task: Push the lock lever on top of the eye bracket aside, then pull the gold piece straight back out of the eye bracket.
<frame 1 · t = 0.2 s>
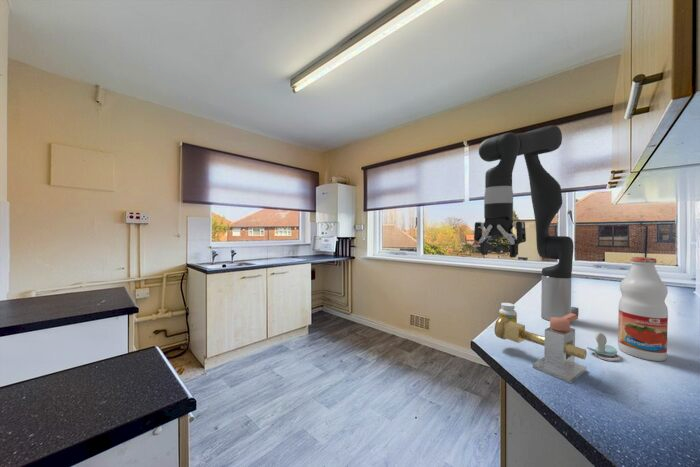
hand: (498, 256, 78), 28 cm above the countertop, fingers open, 8 cm apart
supplement bottle: (507, 331, 91), on the countertop
gold piece: (537, 339, 71), point 6 cm above the countertop, slide at 0.0 cm
lock lever: (566, 318, 68), point 13 cm above the countertop, hinge at 0.0°
fruit juice: (641, 354, 74), on the countertop
eye bracket: (559, 369, 66), on the countertop
pacifier: (605, 357, 73), on the countertop
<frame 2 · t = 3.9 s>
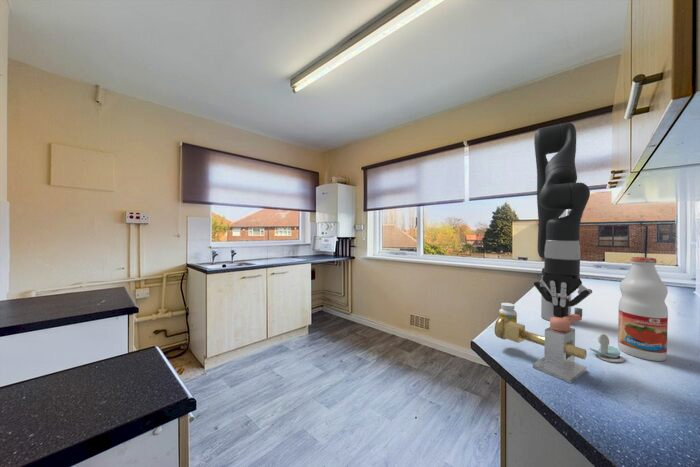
hand: (560, 318, 70), 12 cm above the countertop, fingers closed
lock lever: (568, 318, 68), point 13 cm above the countertop, hinge at -5.0°, touching gripper
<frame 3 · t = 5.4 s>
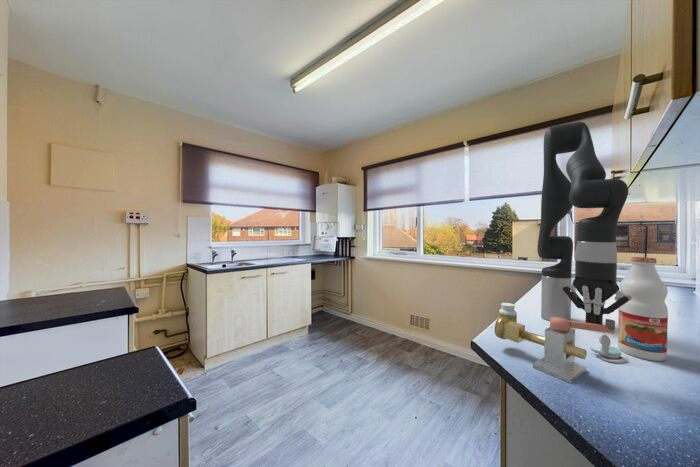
hand: (593, 327, 65), 12 cm above the countertop, fingers closed
lock lever: (581, 324, 64), point 13 cm above the countertop, hinge at -60.2°, touching gripper
everything else where it was.
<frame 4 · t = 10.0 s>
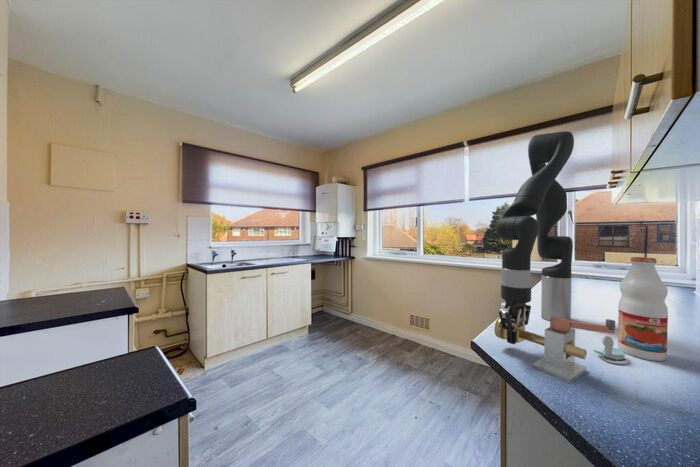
hand: (515, 341, 76), 3 cm above the countertop, fingers closed on gold piece, 3 cm apart
gold piece: (537, 339, 71), point 6 cm above the countertop, slide at 0.0 cm, touching gripper
lock lever: (581, 324, 64), point 13 cm above the countertop, hinge at -61.0°
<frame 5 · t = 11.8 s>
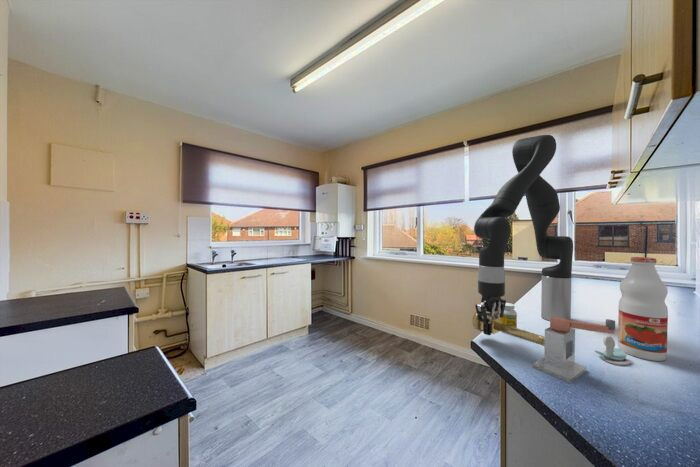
hand: (490, 332, 82), 3 cm above the countertop, fingers closed on gold piece, 3 cm apart
gold piece: (509, 330, 77), point 6 cm above the countertop, slide at 7.3 cm, touching gripper
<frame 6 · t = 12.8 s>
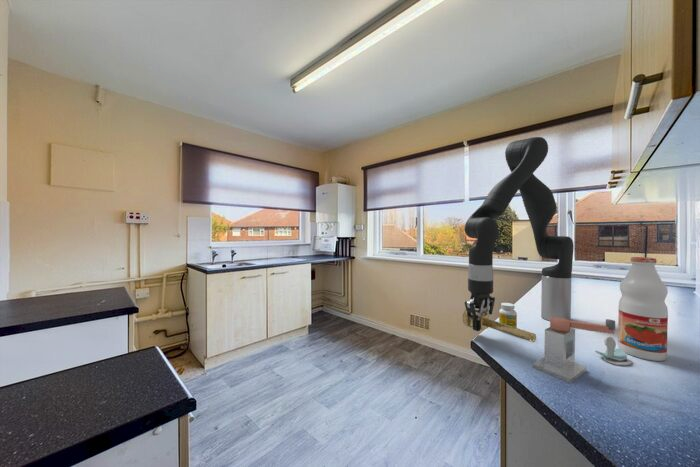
hand: (480, 328, 85), 3 cm above the countertop, fingers closed on gold piece, 3 cm apart
gold piece: (497, 326, 80), point 6 cm above the countertop, slide at 10.9 cm, touching gripper
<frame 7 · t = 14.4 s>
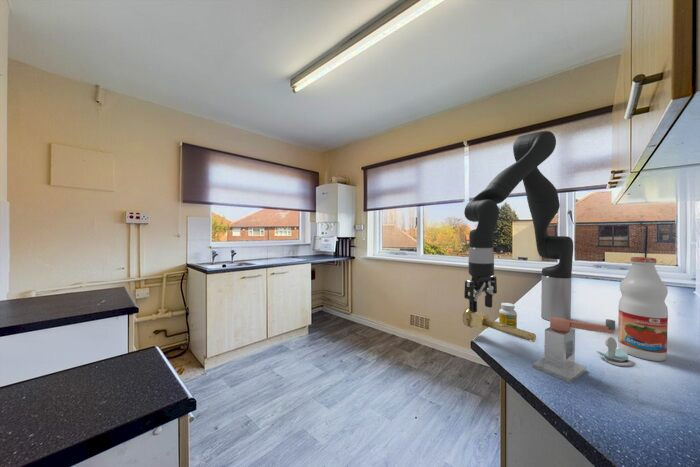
hand: (481, 309, 85), 10 cm above the countertop, fingers open, 8 cm apart
gold piece: (497, 326, 80), point 6 cm above the countertop, slide at 10.9 cm
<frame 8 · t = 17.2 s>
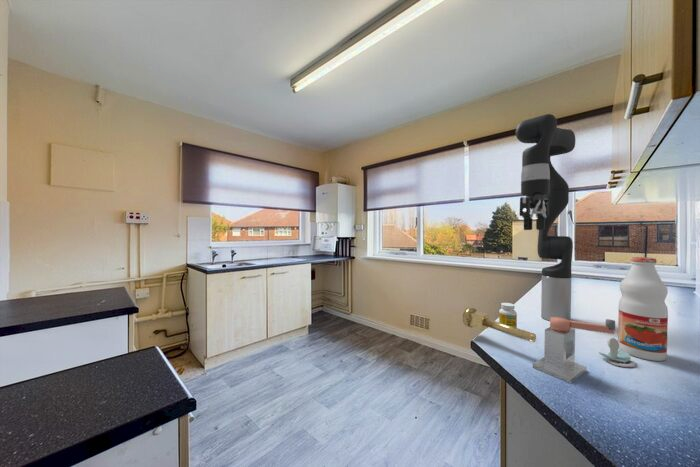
hand: (534, 229, 83), 36 cm above the countertop, fingers open, 8 cm apart
at the end: gold piece slide at 10.9 cm; lock lever at -61° (first picture: +0°); the gripper is holding nothing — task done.
